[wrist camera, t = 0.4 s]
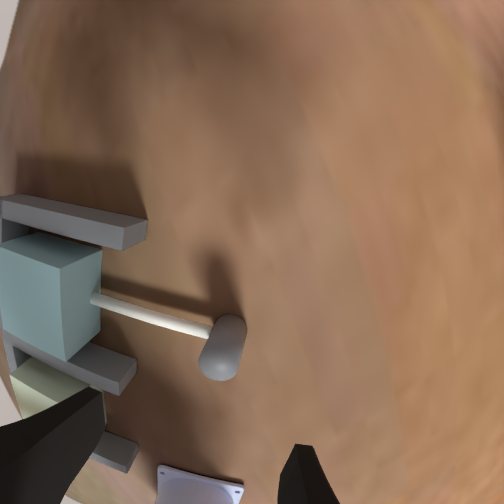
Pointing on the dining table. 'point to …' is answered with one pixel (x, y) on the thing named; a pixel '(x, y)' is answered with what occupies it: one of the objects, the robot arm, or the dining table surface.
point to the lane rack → (90, 355)
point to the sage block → (44, 387)
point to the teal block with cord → (89, 304)
